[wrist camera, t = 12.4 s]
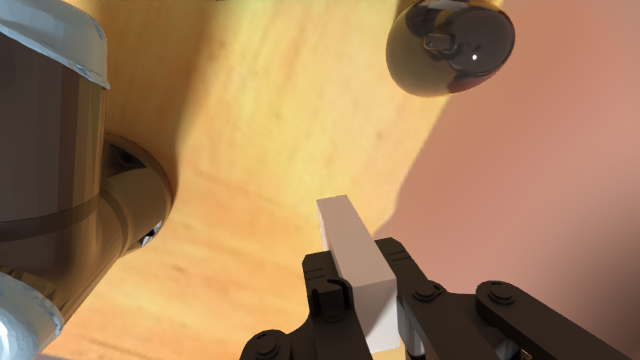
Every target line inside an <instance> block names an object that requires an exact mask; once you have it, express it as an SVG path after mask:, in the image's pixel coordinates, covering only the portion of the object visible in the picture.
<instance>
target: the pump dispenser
mask: <svg viewBox="0 0 640 360" xmlns="http://www.w3.org/2000/svg"><path fill="white" fill-rule="evenodd" d="M514 45H515V28H514V25H513V23H512V21H511V19H510V17H509V16H508V15H507V14H506V13H505V11H504V10H502V9H501V8H500V7H499V6H497V5H495V4H494V3H492V2H490V1H487V0H419V1H417V2H415V3H413V4H412V5H410V6H409V7H407V8H406V9H405V10H404V11H403V12H402V13H401V14H400V15H399V16H398V18H397V19H396V21H395V22H394V24H393V26H392V28H391V30H390V32H389V35H388V39H387V44H386V62H387V66H388V70H389V72H390V75H391V77H392V78H393V80H394V81H395V83H396V84H397V85H398V86H399V87H400V88H401V89H402V90H404V91H405V92H407V93H409V94H411V95H414V96H418V97H424V98H435V97H443V96H449V95H453V94H457V93H460V92H463V91H466V90H468V89H471V88H473V87H475V86H477V85H480V84H481V83H483V82H485V81H487V80H488V79H490V78H491V77H492V76H493V75H495V74H496V73H497V72H498V71H499V70H500V69H501V68H502V67H503V66H504V65H505V63H506V62H507V61H508V59H509V58H510V56H511V54H512V51H513V49H514Z"/></svg>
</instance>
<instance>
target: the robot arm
mask: <svg viewBox="0 0 640 360" xmlns="http://www.w3.org/2000/svg"><path fill="white" fill-rule="evenodd" d="M107 90H109V91H110V83H109V82H108V81H107V39H106V35H105V33H104V31H103V29H102V28H101V26H100V25H99V24H98V23H97V21H96V20H95V19H94V18H92V17H91V16H90V15H89V14H87V13H86V12H84V11H83V10H81V9H79V8H77V7H75V6H73V5H71V4H69V3H67V2H65V1H63V0H0V360H34V359H35V358H36V357H37V356H38V355H39V354H40V353H41V352H42V351H43V350H44V349H45V348H46V347H47V346H48V345H49V344H50V343H51V342H52V341H53V340H55V339H56V338H57V337H58V335H59V334H60V333H61V331H62V330H63V326H64V325H65V324H66V323H67V321H68V320H69V319H70V318H71V316H72V315H73V314H74V313H75V312H76V310H77V309H78V308H79V307H80V305H81V304H82V303H83V302H84V300H85V299H86V298H87V297H88V295H89V294H90V293H91V292H92V290H93V289H94V288H95V287H96V285H97V284H98V283H99V282H100V280H101V279H102V278H103V277H104V275H105V274H106V273H107V272H108V270H109V269H110V268H111V267H112V265H113V264H114V263H115V262H116V260H117V259H119V258H121V257H123V256H125V255H127V254H129V253H131V252H134V251H136V250H138V249H139V248H141V247H143V246H144V245H146V244H147V243H148V242H150V241H151V240H152V239H153V238H154V237H155V236H156V235H157V234H158V232H159V231H160V229H161V228H162V227H163V225H164V224H165V222H166V220H167V218H168V216H169V214H170V210H171V205H172V193H171V187H170V184H169V181H168V178H167V176H166V174H165V172H164V170H163V169H162V167H161V166H160V165H159V163H158V162H157V161H156V160H155V159H154V158H153V157H152V156H151V155H150V154H149V153H148V152H147V151H146V150H144V149H143V148H141V147H140V146H138V145H137V144H135V143H133V142H131V141H129V140H127V139H124V138H122V137H119V136H115V135H111V134H105V133H104V130H105V115H106V101H107ZM316 204H317V210H318V217H319V224H320V231H321V238H322V245H323V250H324V251H323V252H318V253H313V254H308V255H306V256H305V258H304V260H303V262H302V266H303V272H304V278H305V284H306V290H307V298H308V304H309V315H308V318H307V320H306V321H305V323H304V324H303V325H301V326H300V327H299V328H298V329H296V330H294V331H293V332H291V333H289V334H285V333H284V332H282V331H280V330H273V329H271V330H266V331H262V332H260V333H258V334H256V335H254V336H253V337H252V338H251V339H250V340H249V341H248V342H247V343H246V345H245V347H244V349H243V351H242V354H241V356H240V359H239V360H373V358H372V356H371V354H372V353H376V352H380V351H384V350H389V349H393V348H398V347H400V337H401V339H402V340H403V343H404V345H405V354H406V360H632V359H631V358H629V357H628V356H626V355H624V354H623V353H621V352H620V351H618V350H616V349H615V348H613V347H611V346H610V345H608V344H607V343H605V342H604V341H602V340H601V339H599V338H597V337H596V336H594V335H592V334H591V333H589V332H588V331H586V330H585V329H583V328H581V327H580V326H578V325H577V324H575V323H573V322H572V321H570V320H569V319H567V318H566V317H564V316H562V315H561V314H559V313H558V312H556V311H554V310H553V309H551V308H549V307H548V306H546V305H545V304H543V303H542V302H540V301H538V300H537V299H535V298H534V297H532V296H531V295H529V294H527V293H526V292H524V291H523V290H521V289H519V288H518V287H516V286H514V285H512V284H510V283H506V282H502V281H486V282H482V283H481V284H480V285H478V286H477V289H476V294H457V293H450V292H447V290H446V289H445V288H443V286H441V285H440V284H438V283H436V282H434V281H431V280H428V279H427V277H426V276H425V275H424V273H423V272H422V271H421V269H420V268H419V267H418V265H417V264H416V263H415V261H414V260H413V259H412V258H411V256H410V255H409V253H408V252H407V251H406V249H405V248H404V247H403V245H402V244H401V243H400V242H398V241H397V240H395V239H393V238H391V237H389V238H384V239H380V240H373V238H372V237H371V235H370V233H369V232H368V230H367V228H366V227H365V225H364V223H363V222H362V220H361V218H360V217H359V215H358V213H357V212H356V210H355V208H354V207H353V205H352V203H351V202H350V200H349V198H348V197H347V195H341V196H336V197H330V198H325V199H319V200H316ZM399 335H400V336H399ZM522 349H523V350H524V351H525V352H527V353H528V354H529V355H531V356H529V355H528V354H526V353H525V352H524V351H522Z"/></svg>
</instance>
